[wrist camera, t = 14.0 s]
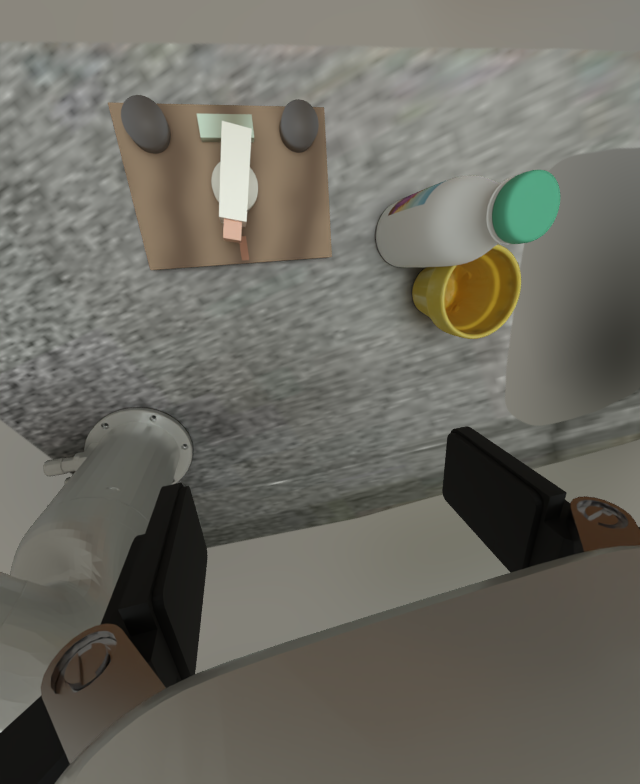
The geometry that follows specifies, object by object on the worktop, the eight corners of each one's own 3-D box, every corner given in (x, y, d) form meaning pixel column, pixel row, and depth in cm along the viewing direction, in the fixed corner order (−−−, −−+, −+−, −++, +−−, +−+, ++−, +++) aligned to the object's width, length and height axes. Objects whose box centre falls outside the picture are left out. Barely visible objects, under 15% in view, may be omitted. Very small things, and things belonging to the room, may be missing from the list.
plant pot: (461, 236, 42) (520, 227, 33) (470, 310, 47) (525, 320, 38) (391, 264, 41) (433, 263, 32) (408, 337, 46) (449, 353, 37)
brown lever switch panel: (154, 269, 35) (145, 269, 32) (115, 112, 30) (98, 91, 26) (327, 257, 39) (336, 256, 36) (319, 116, 34) (329, 97, 30)
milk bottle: (421, 271, 43) (557, 272, 24) (368, 262, 41) (474, 257, 22) (435, 207, 40) (599, 155, 22) (380, 194, 38) (510, 125, 20)
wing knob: (213, 144, 31) (208, 117, 25) (259, 155, 32) (263, 131, 27) (211, 240, 34) (206, 234, 28) (253, 247, 35) (256, 242, 29)
